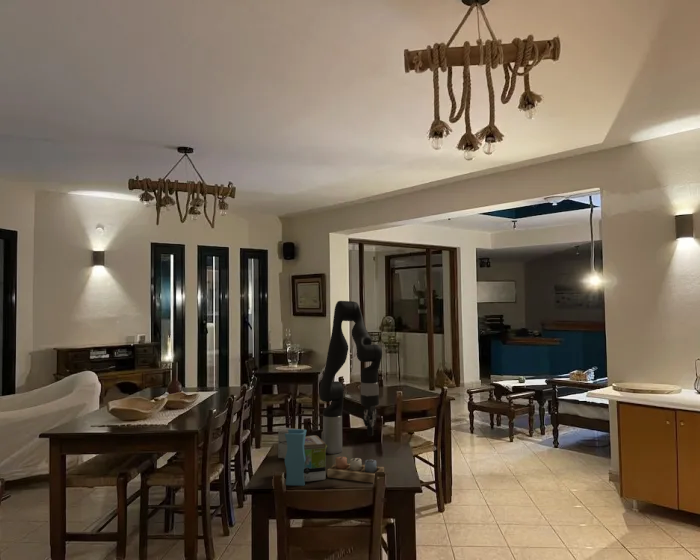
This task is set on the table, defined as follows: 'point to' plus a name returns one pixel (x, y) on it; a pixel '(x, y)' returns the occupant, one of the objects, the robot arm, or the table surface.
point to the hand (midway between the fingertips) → (370, 435)
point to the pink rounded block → (341, 463)
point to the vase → (295, 456)
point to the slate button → (370, 466)
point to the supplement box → (282, 442)
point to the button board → (352, 473)
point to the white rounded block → (355, 464)
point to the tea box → (314, 459)
